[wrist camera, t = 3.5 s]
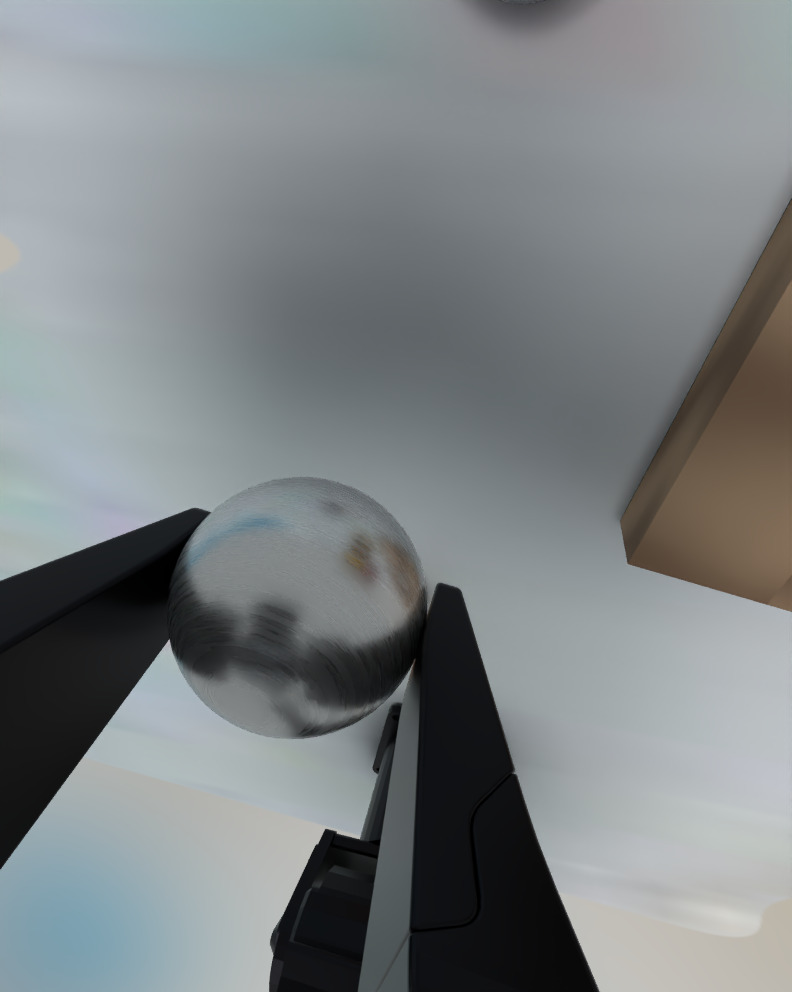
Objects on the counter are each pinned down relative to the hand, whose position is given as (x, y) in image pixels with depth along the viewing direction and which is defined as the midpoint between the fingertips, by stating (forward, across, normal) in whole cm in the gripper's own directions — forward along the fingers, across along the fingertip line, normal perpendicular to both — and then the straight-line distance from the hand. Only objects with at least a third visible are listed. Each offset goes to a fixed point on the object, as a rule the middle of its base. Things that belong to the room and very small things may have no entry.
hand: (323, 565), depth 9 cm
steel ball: (-1, 0, 0) cm, 1 cm away
